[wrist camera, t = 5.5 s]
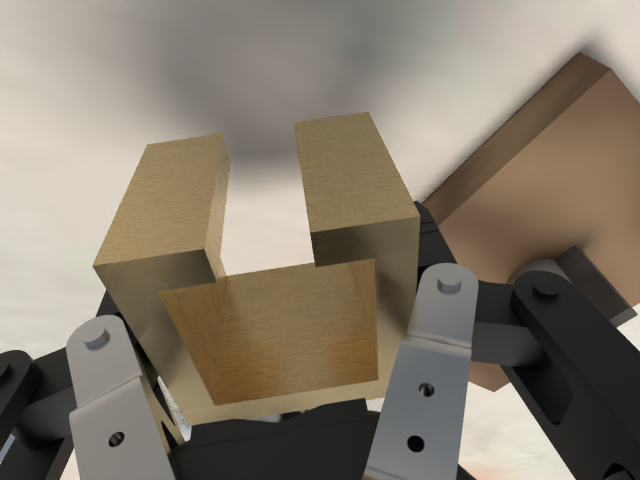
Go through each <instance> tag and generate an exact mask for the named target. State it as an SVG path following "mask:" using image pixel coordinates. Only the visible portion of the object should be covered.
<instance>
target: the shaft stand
mask: <svg viewBox="0 0 640 480" xmlns="http://www.w3.org/2000/svg"><path fill="white" fill-rule="evenodd" d="M422 205H423V206H424V207H426V208H427V209H428V210H429V211H430V213H431V215H432V217H433V219H434V220H435V223H436V224H437V226H438V228H439V231H440V232H441V234H442V235H443V237H444V239H445V241H446V243H447V245H448V247H449V248H450V250H451V252H452V254H453V256H454V258H455V260H456V261H457V263H458V265H461V266H463V267H465V268H467V269H469V270H470V271H471V272H472V273H473V274H474V275H475V276H476V278H477V279H478V280H481V281H485V282H491V283H501V284H512V285H514V283H515V280H516V279H517V277H518V276H520V275H521V274H523V273H525V272H528V271H536V270H540V271H548V272H552V273H555V274H557V275H560V276H562V277H564V278H565V279H567V280H568V281H569V282H570V283H572V284H573V285H574V286H575V287H576V288H577V289H578V290H579V291H580V292H581V293H582V294H583V295H584V296H585V297H586V298H587V299H588V300H589V301H590V302H591V303H592V304H593V305H594V306H595V307H596V308H597V309H598V310H599V311H600V312H601V313H602V314H603V315H604V316H605V317H606V318H607V319H608V320H609V321H610V322H611V323H612V324H613V325H614V326H615V327H616V328H617V327H618V326H620V325H622V324H623V323H625V322H627V321H628V320H630V319H632V318H633V317H635V316H637V315H638V314H637V313H636V312H635V311H634V309H633V308H632V307H634V306H635V305H637V304H639V303H640V104H639V103H638V101H637V100H636V99H635V98H634V97H633V95H632V94H631V93H630V92H629V90H628V89H627V88H626V87H625V85H624V84H623V83H622V82H621V81H620V79H619V78H618V77H617V76H616V74H615V73H614V72H613V71H612V70H611V69H610V68H608V67H606V66H604V65H603V64H601V63H599V62H597V61H595V60H593V59H591V58H589V57H587V56H585V55H584V54H582V53H580V52H579V53H578V54H577V55H576V56H575V57H574V58H573V59H572V60H571V61H570V62H568V63H567V64H566V65H565V66H564V67H563V68H562V69H561V70H560V71H559V72H558V73H557V74H556V75H555V76H554V77H553V78H552V79H551V80H550V81H549V82H548V83H547V84H546V85H545V86H544V87H543V88H542V89H540V90H539V91H538V92H537V93H536V94H535V95H534V96H533V97H532V98H531V99H530V100H529V101H528V102H527V103H526V104H525V105H524V106H523V107H522V108H521V109H520V110H519V111H518V112H517V113H516V114H515V115H514V116H513V117H511V118H510V119H509V120H508V121H507V122H506V123H505V124H504V125H503V126H502V127H501V128H500V129H499V130H498V131H497V132H496V133H495V134H494V135H493V136H492V137H491V138H490V139H489V140H488V141H487V142H486V143H485V144H483V145H482V146H481V147H480V148H479V149H478V150H477V151H476V152H475V153H474V154H473V155H472V156H471V157H470V158H469V159H468V160H467V161H466V162H465V163H464V164H463V165H462V166H461V167H460V168H459V169H458V170H457V171H456V172H454V173H453V174H452V175H451V176H450V177H449V178H448V179H447V180H446V181H445V182H444V183H443V184H442V185H441V186H440V187H439V188H438V189H437V190H436V191H435V192H434V193H433V194H432V195H431V196H430V197H429V198H428V199H426V200H425V201H424V202H423V203H422ZM468 381H469V382H471V383H474V384H476V385H478V386H481V387H483V388H485V389H488V390H490V391H492V392H495V391H496V390H498V389H500V388H501V387H503V386H505V385H506V384H508V383H510V380H509V379H508V377H507V376H506V374H505V373H504V371H503V370H502V368H501V367H500V365H498V364H490V363H483V362H476V361H470V369H469V377H468Z"/></svg>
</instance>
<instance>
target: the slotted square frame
mask: <svg viewBox="0 0 640 480" xmlns="http://www.w3.org/2000/svg"><path fill="white" fill-rule="evenodd" d="M294 127H295V134H296V140H297V147H298V154H299V161H300V167H301V174H302V181H303V188H304V194H305V201H306V208H307V215H308V221H309V228H310V235H311V241H312V248H313V254H314V260H315V262H314V263H308V264H301V265H295V266H288V267H282V268H275V269H269V270H262V271H256V272H249V273H243V274H236V275H230V276H226V273H225V270H224V267H223V264H222V261H221V258H220V250H221V241H222V232H223V223H224V215H225V206H226V197H227V188H228V179H229V170H230V159H229V155H228V151H227V148H226V144H225V140H224V137H223V133H222V134H215V135H208V136H202V137H195V138H188V139H181V140H175V141H168V142H161V143H154V144H148V145H147V146H146V149H145V151H144V153H143V155H142V157H141V160H140V162H139V164H138V166H137V168H136V171H135V173H134V175H133V177H132V179H131V182H130V184H129V186H128V188H127V190H126V193H125V195H124V197H123V199H122V202H121V204H120V206H119V208H118V210H117V213H116V215H115V217H114V219H113V221H112V224H111V226H110V228H109V230H108V232H107V235H106V237H105V239H104V241H103V243H102V246H101V248H100V250H99V252H98V254H97V257H96V259H95V261H94V263H93V265H92V266H93V268H94V269H95V271H96V273H97V274H98V276H99V278H100V279H101V281H102V283H103V284H104V286H105V287H106V289H107V291H108V292H109V294H110V296H111V297H112V299H113V301H114V302H115V304H116V305H117V307H118V309H119V310H120V312H121V314H122V315H123V317H124V318H125V320H126V322H127V323H128V325H129V327H130V328H131V330H132V332H133V333H134V335H135V336H136V338H137V340H138V341H139V343H140V345H141V346H142V348H143V350H144V351H145V353H146V354H147V356H148V358H149V359H150V361H151V363H152V364H153V366H154V368H155V369H156V371H157V372H158V374H159V376H160V377H161V379H162V381H163V382H164V384H165V386H166V387H167V389H168V390H169V392H170V394H171V395H172V397H173V399H174V400H175V402H176V404H177V405H178V407H179V408H180V410H181V412H182V413H183V415H184V417H185V418H186V420H187V422H188V423H189V425H190V426H191V428H192V425H197V424H203V423H210V422H216V421H222V420H228V419H251V418H257V417H263V416H270V415H276V414H282V413H288V412H295V411H301V410H307V409H313V408H316V407H318V406H320V405H323V404H329V403H335V402H341V401H347V400H354V399H360V398H365V400H370V399H376V398H383V397H385V395H386V392H387V388H388V384H389V381H390V377H391V373H392V370H393V366H394V362H395V359H396V355H397V351H398V348H399V344H400V341H401V338H402V335H403V333H406V332H407V329H408V325H409V322H410V318H411V314H412V310H413V307H414V303H415V299H416V287H417V269H418V250H419V231H420V214H419V212H418V210H417V208H416V206H415V204H414V202H413V200H412V198H411V196H410V194H409V192H408V190H407V188H406V186H405V184H404V182H403V180H402V178H401V176H400V174H399V172H398V170H397V168H396V166H395V164H394V162H393V160H392V158H391V156H390V154H389V152H388V150H387V148H386V146H385V144H384V142H383V140H382V138H381V136H380V134H379V132H378V130H377V128H376V126H375V124H374V122H373V120H372V118H371V116H370V114H369V112H364V113H357V114H350V115H344V116H337V117H330V118H323V119H316V120H310V121H303V122H296V123H294Z"/></svg>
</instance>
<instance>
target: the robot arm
mask: <svg viewBox="0 0 640 480" xmlns="http://www.w3.org/2000/svg"><path fill="white" fill-rule="evenodd" d="M413 202H414V204H415V206H416V208H417V210H418V212H419V214H420V231H419V250H418V269H417V287H416V299H415V303H414V307H413V310H412V314H411V318H410V322H409V325H408V329H407V332H406V333H403V335H402V338H401V341H400V344H399V348H398V351H397V355H396V359H395V362H394V366H393V370H392V373H391V377H390V381H389V384H388V388H387V392H386V395H385V399H384V403H383V406H382V410H381V412H377V411H369V410H368V409H367V405H366V400H365V398H360V399H354V400H347V401H341V402H335V403H329V404H323V405H320V406H318V407H316V408H313V409H311V410H308V411H306V412H304V413H301V414H299V415H297V416H294V417H292V418H290V419H287V420H285V421H282V422H266V421H256V420H245V419H228V420H222V421H216V422H210V423H203V424H197V425H192V430H191V438H190V440H189V441H187V442H185V440H184V438H183V436H182V434H181V432H180V429H179V427H178V424H177V422H176V419H175V417H174V414H173V412H172V409H171V407H170V404H169V402H168V399H167V397H166V394H165V392H164V389H163V387H162V384H161V382H160V381H159V379H158V375H159V374H158V372H157V371H156V369H155V368H154V366H153V364H152V363H151V361H150V359H149V358H148V356H147V354H146V353H145V351H144V350H143V348H142V346H141V345H140V343H139V341H138V340H137V338H136V336H135V335H134V333H133V332H132V330H131V328H130V327H129V325H128V323H127V322H126V320H125V318H124V317H123V315H122V314H121V312H120V310H119V309H118V307H117V305H116V304H115V302H114V301H113V299H112V297H111V296H110V294H109V292H108V291H107V289H106V292H105V294H104V297H103V299H102V302H101V304H100V307H99V310H98V312H97V315H96V317H95V318H93V319H91V320H89V321H87V322H85V323H84V324H82V325H81V326H80V327H78V328H77V329H76V330H75V331H74V332H73V333H72V335H71V336H70V338H69V339H68V342H67V345H66V347H64V348H62V349H60V350H57V351H55V352H52V353H50V354H48V355H45V356H43V357H40V358H38V359H35V360H33V359H32V358H31V357H30V356H29V355H28V354H27V353H26V352H24V351H21V350H12V351H7V352H4V353H1V354H0V451H1V449H2V447H3V446H4V444H5V442H6V441H7V439H8V437H9V435H10V434H12V435H13V436H14V437H15V439H14V441H13V443H12V445H11V447H10V448H9V450H8V452H7V454H6V455H5V457H4V459H3V461H2V462H1V464H0V480H60V478H61V475H62V473H63V471H64V469H65V467H66V464H67V462H68V460H69V458H70V455H71V453H72V451H73V449H75V454H76V460H77V465H78V471H79V476H80V480H476V479H475V478H474V477H473V476H472V475H471V474H469V473H468V472H467V471H466V470H465V469H464V468H462V467H461V466H460V465H459V464H458V458H459V450H460V442H461V434H462V426H463V418H464V410H465V401H466V393H467V385H468V377H469V369H470V361H476V362H483V363H490V364H498V365H500V367H501V368H502V370H503V371H504V373H505V374H506V376H507V377H508V379H509V380H510V382H511V383H512V385H513V386H514V388H515V389H516V391H517V392H518V394H519V395H520V397H521V398H522V400H523V401H524V403H525V404H526V406H527V407H528V409H529V410H530V412H531V413H532V415H533V416H534V418H535V419H536V421H537V422H538V424H539V425H540V427H541V428H542V430H543V431H544V433H545V434H546V436H547V437H548V439H549V440H550V442H551V443H552V445H553V446H554V448H555V449H556V451H557V452H558V454H559V455H560V457H561V458H562V460H563V461H564V463H565V464H566V466H567V467H568V469H569V470H570V472H571V473H572V475H573V476H574V478H575V479H576V480H640V351H639V350H638V349H637V348H636V347H635V346H634V345H633V344H632V343H631V342H630V341H629V340H628V339H627V338H626V337H625V336H624V335H623V334H622V333H621V332H620V331H619V330H618V329H617V328H616V327H615V326H614V325H613V324H612V323H611V322H610V321H609V320H608V319H607V318H606V317H605V316H604V315H603V314H602V313H601V312H600V311H599V310H598V309H597V308H596V307H595V306H594V305H593V304H592V303H591V302H590V301H589V300H588V299H587V298H586V297H585V296H584V295H583V294H582V293H581V292H580V291H579V290H578V289H577V288H576V287H575V286H574V285H573V284H572V283H570V282H569V281H568V280H567V279H565V278H564V277H562V276H560V275H557V274H555V273H552V272H548V271H540V270H536V271H528V272H525V273H523V274H521V275H520V276H518V277H517V279H516V280H515V283H514V285H512V284H501V283H491V282H485V281H481V280H478V279H477V278H476V276H475V275H474V274H473V273H472V272H471V271H470V270H469V269H467V268H465V267H463V266H461V265H458V263H457V261H456V260H455V258H454V256H453V254H452V252H451V250H450V248H449V247H448V245H447V243H446V241H445V239H444V237H443V235H442V234H441V232H440V231H439V228H438V226H437V224H436V223H435V220H434V219H433V217H432V215H431V213H430V211H429V210H428V209H427V208H426V207H424V206H423V205H422V204H420V203H419V202H417V201H413Z"/></svg>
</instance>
